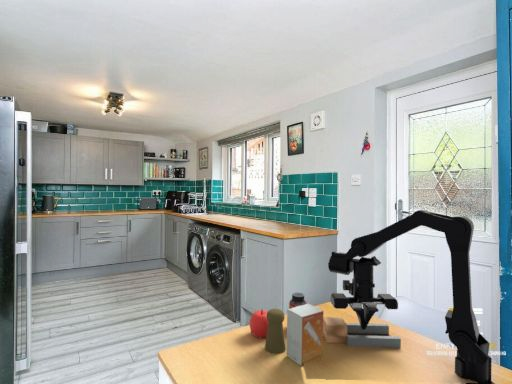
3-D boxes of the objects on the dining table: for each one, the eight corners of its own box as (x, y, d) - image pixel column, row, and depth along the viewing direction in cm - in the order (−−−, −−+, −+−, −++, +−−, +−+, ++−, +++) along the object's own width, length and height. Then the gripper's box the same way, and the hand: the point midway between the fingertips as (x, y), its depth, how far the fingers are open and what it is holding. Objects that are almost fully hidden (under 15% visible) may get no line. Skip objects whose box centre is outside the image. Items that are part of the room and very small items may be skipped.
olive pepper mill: (261, 350, 84) (261, 311, 84) (270, 341, 89) (270, 304, 89) (280, 356, 81) (281, 316, 81) (288, 346, 86) (289, 308, 86)
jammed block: (341, 333, 93) (342, 317, 93) (347, 342, 87) (347, 325, 87) (322, 332, 93) (322, 316, 93) (326, 342, 87) (326, 325, 87)
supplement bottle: (285, 326, 99) (285, 292, 99) (300, 322, 102) (300, 290, 102) (295, 333, 94) (295, 298, 94) (310, 330, 97) (310, 295, 97)
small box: (301, 367, 76) (302, 316, 76) (285, 355, 81) (286, 308, 81) (323, 357, 81) (324, 310, 81) (307, 347, 86) (308, 302, 86)
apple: (244, 335, 93) (244, 310, 93) (259, 326, 99) (259, 302, 99) (264, 343, 88) (264, 317, 88) (279, 333, 94) (279, 308, 94)
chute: (386, 334, 94) (386, 323, 94) (400, 351, 84) (400, 338, 84) (339, 333, 94) (339, 322, 94) (347, 349, 85) (348, 337, 85)
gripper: (383, 271, 97) (383, 318, 97) (326, 270, 98) (326, 317, 98) (398, 281, 86) (398, 334, 86) (334, 280, 87) (334, 333, 86)
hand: (363, 329), depth 89 cm, fingers closed
